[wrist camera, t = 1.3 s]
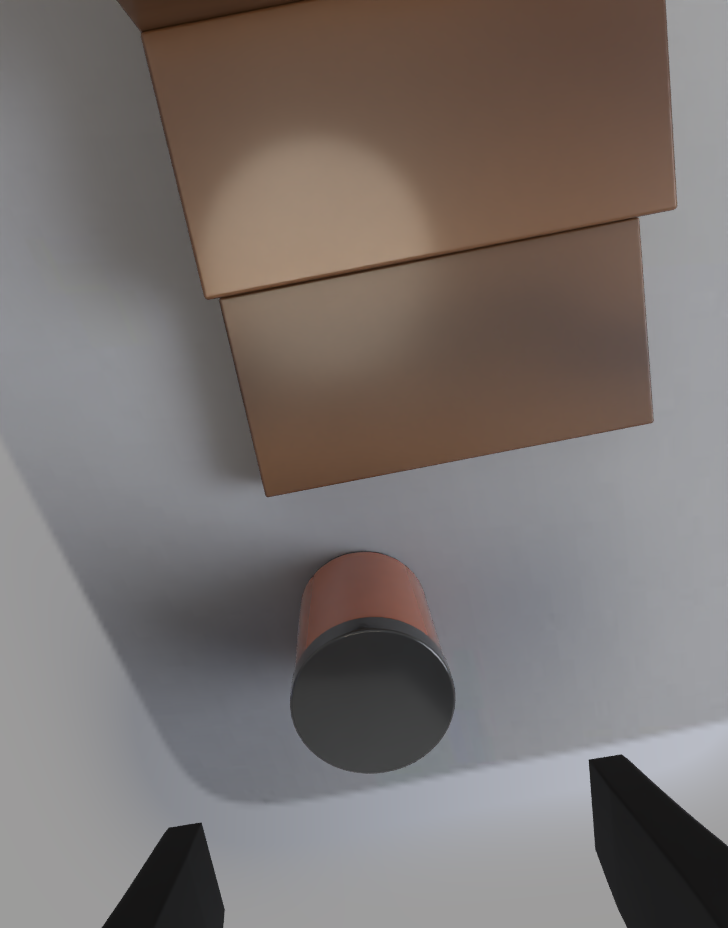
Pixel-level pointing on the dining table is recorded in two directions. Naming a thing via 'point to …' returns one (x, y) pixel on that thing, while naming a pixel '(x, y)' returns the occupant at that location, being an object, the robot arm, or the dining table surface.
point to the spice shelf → (419, 217)
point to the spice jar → (369, 667)
